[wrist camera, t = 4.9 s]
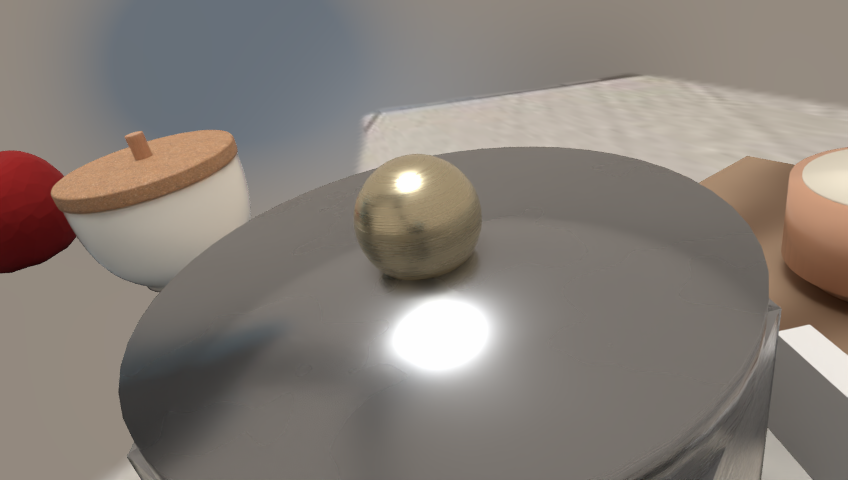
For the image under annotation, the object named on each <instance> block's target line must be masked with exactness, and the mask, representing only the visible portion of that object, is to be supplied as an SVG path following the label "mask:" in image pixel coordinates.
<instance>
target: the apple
mask: <svg viewBox="0 0 848 480" xmlns="http://www.w3.org/2000/svg"><path fill="white" fill-rule="evenodd" d="M63 177H64V176H63V175H62V174H61V173H60V171H58V170H57V169H56V168H54V167H53V166H52V165H50V164H49V163H48V162H47V161H45V160H43V159H42V158H40V157H37V156H35V155H32V154H29V153H25V152H21V151H1V152H0V273H12V272H15V271H18V270H21V269H24V268H27V267H30V266H34V265H38V264H41V263H43V262H45V261H47V260H48V259H50V258H52V257H53V256H55V255H56V254H58V253H59V252H61V251H63V250H64V249H66V248H67V247H68V246H69V245H70V244H71V243H72V241H73V240H74V239H75V238H76V234H75V233H74V231H73V229H72V228H71V226H70V224H69V223H68V221H67V219H66V217H65V215H64V213H63V212H62V211H61V210H59V209H58V207H57V206H56V204H55V202H54V200H53V198H52V196H51V190H52V188H53V186H54V185H55V184H56V183H57V182H58V181H59V180H61V179H62V178H63Z"/></svg>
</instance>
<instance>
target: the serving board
mask: <svg viewBox="0 0 848 480" xmlns="http://www.w3.org/2000/svg"><path fill="white" fill-rule="evenodd" d="M794 166H795V165H792V164H787V163H782V162H776V161H771V160H766V159H760V158H755V157H750V156H746V157H745V158H743V159H741V160H739V161H737V162H736V163H734V164H732V165H730V166H728V167H727V168H725V169H723V170H721V171H719V172H718V173H716V174H714V175H712V176H710V177H709V178H707V179H705V180H703V181H701V182H700V183H699V184H701V185H703V186H704V187H706V188H708V189H710V190H711V191H713V192H714V193H715V194H717V195H718V196H719V197H721V198H722V199H723V200H724V201H726V202H727V203H728V204H730V205H731V206H732V207H733V208H734V209H735V210H736V211H737V212H738V213H739V215H740V216H741V217H742V218H743V219H744V220H745V221H746V222H747V223H748V224H749V226H750V228H751V229H752V231H753V233H754V234H755V236H756V238H757V240H758V241H759V243H760V245H761V246H762V250H763V253H764V257H765V260H766V264H767V267H768V271H769V299H771V300H772V301H773V302H774V303H775V304H777V305H778V306H780V307H781V309H782V310H781V318H780V327H779V331H783V330H787V329H792V328H796V327H801V326H805V325H811V326H812V327H814V328H815V329H816V330H817V331H818V332H820V333H821V334H822V335H823V336H825V337H826V338H827V339H828V340H829V341H831V342H832V343H833V344H834V345H836V346H837V347H838V348H839V349H841V350H842V351H843V352H844V353H845V354H847V355H848V302H847V301H844V300H841V299H839V298H836V297H834V296H832V295H830V294H828V293H826V292H825V291H823V290H821V289H820V288H819V287H817V286H816V285H813V284H811V283H810V282H808V281H806V280H805V279H803V278H801V277H800V276H799V275H797V274H796V273H795V272H794V271H792V270H791V269H790V268H789V267H788V265H787V264H786V263H785V261H784V259H783V257H782V254H781V246H782V237H783V228H784V219H785V210H786V202H787V193H788V184H789V176H790V172H791V170H792V168H793V167H794Z"/></svg>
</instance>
